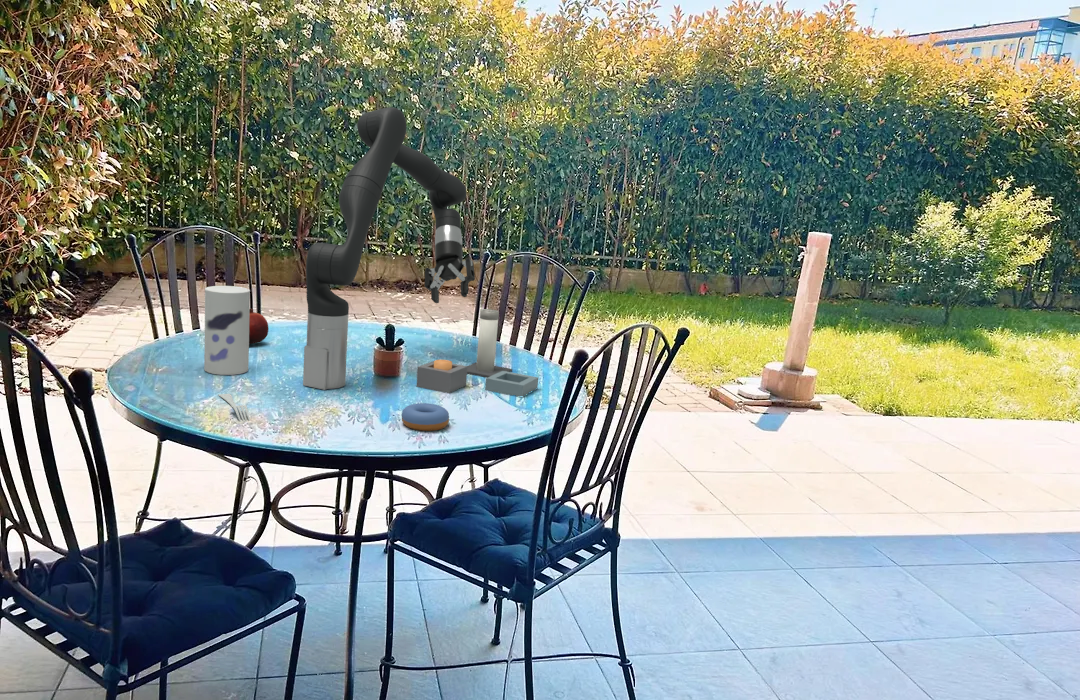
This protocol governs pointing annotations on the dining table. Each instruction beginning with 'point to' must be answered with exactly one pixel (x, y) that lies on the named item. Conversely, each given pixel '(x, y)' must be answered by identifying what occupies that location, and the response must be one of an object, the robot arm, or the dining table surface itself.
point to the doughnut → (425, 417)
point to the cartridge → (487, 340)
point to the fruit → (257, 327)
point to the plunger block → (441, 377)
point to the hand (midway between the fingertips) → (449, 299)
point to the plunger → (443, 364)
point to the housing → (511, 383)
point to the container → (226, 330)
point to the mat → (473, 371)
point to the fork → (231, 402)
